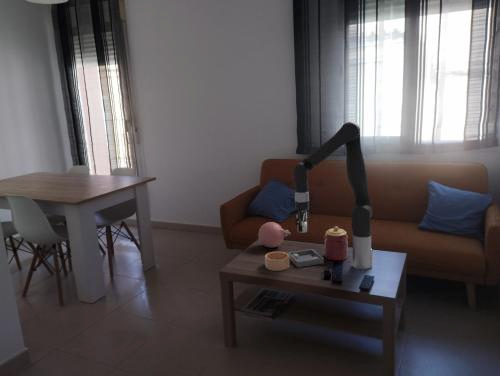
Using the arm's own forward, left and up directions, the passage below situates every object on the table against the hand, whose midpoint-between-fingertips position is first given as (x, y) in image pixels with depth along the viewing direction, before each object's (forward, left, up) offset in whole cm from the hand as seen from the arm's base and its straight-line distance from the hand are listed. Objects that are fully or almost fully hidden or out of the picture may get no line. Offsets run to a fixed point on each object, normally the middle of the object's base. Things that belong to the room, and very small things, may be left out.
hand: (302, 230), depth 223 cm
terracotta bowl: (+15, +2, -18) cm, 23 cm away
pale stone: (0, 0, -1) cm, 1 cm away
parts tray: (-2, 0, -18) cm, 18 cm away
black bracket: (-3, +23, -18) cm, 30 cm away
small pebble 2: (-6, +4, -17) cm, 18 cm away
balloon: (+7, -26, -18) cm, 32 cm away
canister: (-20, +1, -18) cm, 26 cm away
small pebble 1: (+3, -4, -17) cm, 18 cm away
